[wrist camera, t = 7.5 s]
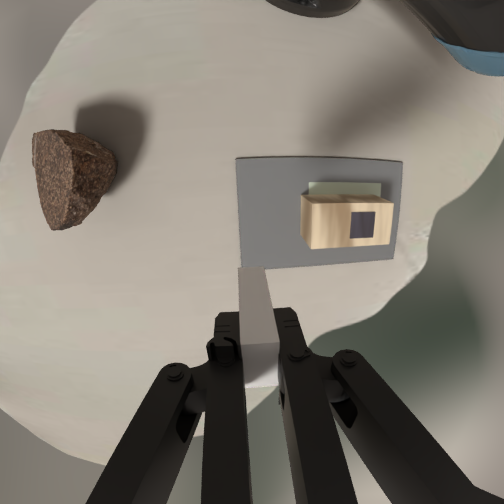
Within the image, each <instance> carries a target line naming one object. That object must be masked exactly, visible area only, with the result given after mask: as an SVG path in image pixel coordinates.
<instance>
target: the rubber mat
mask: <svg viewBox="0 0 504 504" xmlns="http://www.w3.org/2000/svg"><path fill="white" fill-rule="evenodd" d="M402 170H403V163H402V162H392V161H381V160H367V159H349V158H320V157H276V158H246V159H236V176H237V195H238V214H239V232H240V249H241V265H242V268H243V267H260V266H264V269H278V268H292V267H305V266H318V265H331V264H343V263H355V262H367V261H378V260H389V259H393V257H394V251H395V244H396V237H397V229H398V221H399V211H400V201H401V188H402ZM314 194H372V195H376V196H379V197H381V198H383V199H386V200H388V201H390V202H392V203H394V207H393V218H392V227H391V235H390V242H389V244H386V245H370V246H354V247H338V248H322V249H310V247H309V246H308V244H307V243H306V242H305V240H304V239H303V238H302V236H301V235H300V221H301V195H314Z"/></svg>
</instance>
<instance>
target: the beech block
mask: <svg viewBox="0 0 504 504" xmlns="http://www.w3.org/2000/svg"><path fill="white" fill-rule="evenodd" d="M393 207H394V203H392V202H390V201H388V200H386V199H383V198H381V197H379V196H376V195H372V194H314V195H301V221H300V235H301V236H302V238H303V239H304V240H305V242H306V243H307V244H308V246H309V247H310V249H322V248H338V247H354V246H370V245H386V244H389V242H390V235H391V227H392V218H393Z"/></svg>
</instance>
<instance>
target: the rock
mask: <svg viewBox="0 0 504 504" xmlns="http://www.w3.org/2000/svg"><path fill="white" fill-rule="evenodd" d="M32 154H33V158H32V163H33V167H34V168H35V172H36V180H37V188H38V192H39V198H40V204H41V207H42V210H43V213H44V216H45V218H46V221H47V223H48V224H49V226H50V228H51V230H64V229H67V228H70V227H72V226H77V225H79V224H81V223H82V221H83V220H84V219H85V218H86V217H87V216H88V215H89V213H90V212H92V211H93V210H94V208H95V207H96V206H97V204H98V203H99V201H100V199H101V197H102V196H103V194H105V193H106V191H107V190H108V188H109V186H110V184H111V182H112V180H113V178H114V176H115V174H116V172H117V165H118V162H117V161H116V159H115V155H114V153H113V152H112V151H110V150H108V149H106V148H105V147H103V146H101V145H100V143H99V142H96V141H94V140H92V139H90V138H88V137H87V136H85V135H83V134H80V133H72V132H69V131H67V130H45V131H41V132H37V133H34V134H33V139H32Z"/></svg>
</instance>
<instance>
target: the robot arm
mask: <svg viewBox="0 0 504 504" xmlns="http://www.w3.org/2000/svg"><path fill="white" fill-rule="evenodd" d="M266 1H267V2H269V3H271V4H272V5H274V6H276V7H278V8H280V9H282V10H285V11H288V12H290V13H294V14H297V15H302V16H307V17H316V18H326V17H333V16H338V15H341V14H343V13H345V12H347V11H348V10H350V9H351V8H352V7H353V6H354V5H355V4H356V3H357V2H358V1H359V0H266ZM399 1H400V2H402V3H403V4H404V5H405V6H406V7H407V8H408V9H409V10H410V11H411V12H412V13H413V14H414V15H415V16H416V17H417V18H418V19H419V20H420V21H421V22H422V23H423V24H424V25H425V26H426V27H427V28H428V29H429V31H430V32H431V34H432V35H433V37H434V38H435V39H436V40H437V41H438V42H439V43H441V44H442V45H443V46H444V47H445V48H446V49H447V50H448V51H449V53H450V54H451V55H452V56H453V57H454V59H455V60H456V61H457V62H458V63H459V64H460V65H462V66H463V67H465V68H466V69H468V70H471V71H475V72H476V73H478V74H482V75H487V76H504V0H399ZM238 284H239V312H220V313H219V314H218V316H217V317H216V318H215V327H214V338H212V339H211V340H210V341H209V342H208V343H207V346H206V348H207V353H208V359H209V360H208V361H207V362H206V363H204V364H203V365H200V366H197V367H193V368H189V367H188V366H187V365H185V364H182V363H171V364H168V365H166V366H164V367H163V368H162V369H161V370H160V372H159V374H158V375H157V377H156V379H155V380H154V382H153V384H152V386H151V387H150V389H149V391H148V393H147V394H146V396H145V398H144V399H143V401H142V403H141V405H140V406H139V408H138V410H137V412H136V413H135V415H134V417H133V419H132V420H131V422H130V424H129V426H128V428H127V429H126V431H125V433H124V435H123V436H122V438H121V440H120V442H119V443H118V445H117V447H116V449H115V451H114V452H113V454H112V456H111V458H110V460H109V461H108V463H107V465H106V467H105V469H104V471H103V472H102V474H101V476H100V478H99V480H98V482H97V484H96V485H95V487H94V489H93V491H92V493H91V495H90V496H89V498H88V500H87V502H86V504H166V503H167V501H168V498H169V495H170V493H171V491H172V488H173V486H174V483H175V480H176V478H177V476H178V473H179V471H180V468H181V465H182V463H183V460H184V458H185V455H186V453H187V450H188V448H189V445H190V443H191V440H192V438H193V435H194V433H195V430H196V427H197V425H198V422H199V420H200V417H201V415H202V412H204V411H205V424H204V442H203V462H202V489H201V504H253V499H252V486H251V472H250V457H249V442H248V428H247V427H248V426H247V410H246V395H245V388H254V387H267V386H278V382H279V388H280V389H279V404H281V409H282V416H283V423H284V429H285V435H286V441H287V448H288V454H289V460H290V467H291V473H292V480H293V486H294V493H295V499H296V504H358V502H357V498H356V495H355V491H354V487H353V484H352V480H351V477H350V473H349V469H348V466H347V462H346V459H345V456H344V452H343V449H342V445H341V442H340V438H339V435H338V432H337V428H336V425H335V421H334V418H335V420H336V421H337V423H338V424H339V426H340V427H341V429H342V430H343V432H344V433H345V435H346V436H347V438H348V439H349V441H350V442H351V444H352V445H353V447H354V449H355V450H356V451H357V453H358V454H359V456H360V458H361V459H362V461H363V462H364V464H365V465H366V466H367V468H368V469H369V471H370V472H371V474H372V475H373V477H374V478H375V480H376V481H377V483H378V484H379V486H380V487H381V489H382V490H383V491H384V493H385V494H386V496H387V497H388V499H389V500H390V501H391V503H392V504H504V499H502V498H500V497H498V496H495V495H493V494H491V493H489V492H486V491H484V490H481V489H479V488H478V487H475V486H474V485H473V484H472V483H471V481H470V480H469V479H468V478H467V477H466V475H465V474H464V473H463V472H462V471H461V469H460V468H459V467H458V466H457V465H456V464H455V463H454V461H453V460H452V459H451V458H450V456H449V455H448V454H447V453H446V452H445V451H444V449H443V448H442V447H441V446H440V445H439V443H437V441H436V440H435V439H434V438H433V437H432V435H431V434H430V433H429V432H428V431H427V430H426V428H425V427H424V426H423V425H422V424H421V422H420V421H419V420H418V419H417V418H416V417H415V415H414V414H413V413H412V412H411V411H410V410H409V409H408V407H407V406H406V405H405V404H404V403H403V402H402V401H401V399H400V398H399V397H398V396H397V395H396V394H395V393H394V391H393V390H392V389H391V388H390V387H389V386H388V385H387V383H386V382H385V381H384V380H383V379H382V378H381V376H380V375H379V374H378V373H377V372H376V371H375V370H374V369H373V368H372V366H371V365H370V364H369V363H368V362H367V361H366V360H365V359H364V357H363V356H362V355H361V354H359V353H358V352H356V351H354V350H347V349H346V350H340V351H339V352H337V353H336V354H335V355H334V356H333V357H324V356H319V355H316V354H314V353H313V352H312V351H311V350H310V349H309V348H308V347H307V345H306V342H305V339H304V336H303V333H302V329H301V326H300V323H299V321H298V317H297V314H296V312H295V311H294V310H293V309H292V308H290V307H287V308H274V309H273V307H272V302H271V298H270V293H269V288H268V283H267V279H266V274H265V269H264V266H260V267H243V268H238ZM333 416H334V418H333Z"/></svg>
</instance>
